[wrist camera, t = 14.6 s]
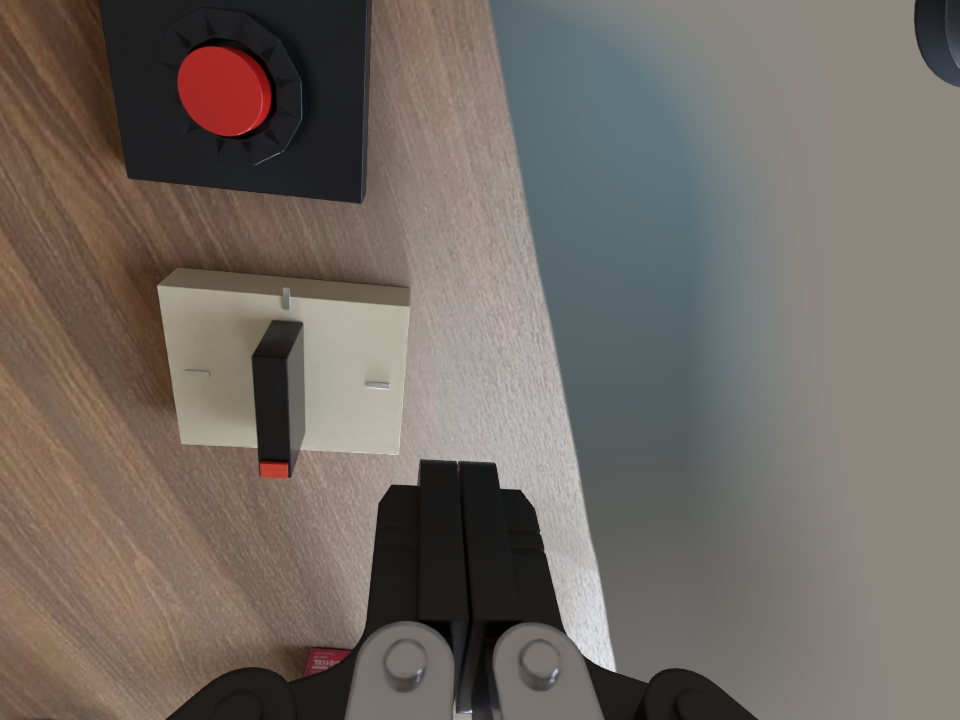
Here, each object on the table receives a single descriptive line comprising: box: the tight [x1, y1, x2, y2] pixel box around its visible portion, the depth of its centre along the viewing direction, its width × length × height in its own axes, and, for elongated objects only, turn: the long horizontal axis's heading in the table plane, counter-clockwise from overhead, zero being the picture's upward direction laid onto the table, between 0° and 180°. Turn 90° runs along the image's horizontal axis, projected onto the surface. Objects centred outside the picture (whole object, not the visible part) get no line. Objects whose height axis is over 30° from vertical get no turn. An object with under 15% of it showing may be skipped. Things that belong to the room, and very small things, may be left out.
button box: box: [99, 0, 372, 204], centre depth 28 cm, size 12×10×4 cm
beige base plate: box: [157, 268, 411, 455], centre depth 36 cm, size 14×12×3 cm
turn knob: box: [251, 320, 305, 478], centre depth 32 cm, size 8×2×5 cm, turn 172°
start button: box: [177, 46, 272, 136], centre depth 25 cm, size 4×4×2 cm
